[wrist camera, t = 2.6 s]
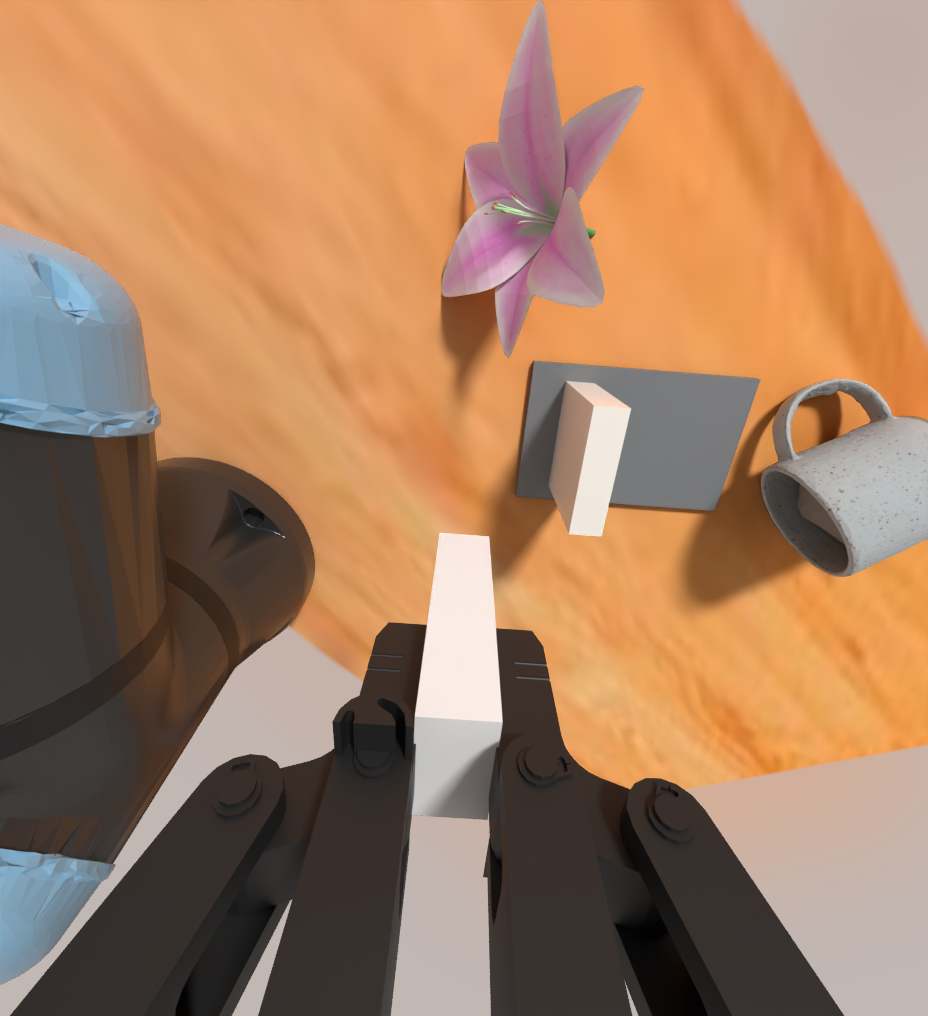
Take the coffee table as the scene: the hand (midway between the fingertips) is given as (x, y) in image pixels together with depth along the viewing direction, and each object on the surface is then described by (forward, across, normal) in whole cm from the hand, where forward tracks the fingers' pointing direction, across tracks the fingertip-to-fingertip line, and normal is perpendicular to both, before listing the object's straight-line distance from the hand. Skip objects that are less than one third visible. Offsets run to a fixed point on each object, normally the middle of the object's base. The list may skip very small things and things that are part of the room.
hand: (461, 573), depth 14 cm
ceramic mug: (+18, +23, 0) cm, 29 cm away
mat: (+17, +11, 0) cm, 20 cm away
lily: (+18, +2, +12) cm, 21 cm away
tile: (+17, +7, 0) cm, 18 cm away
